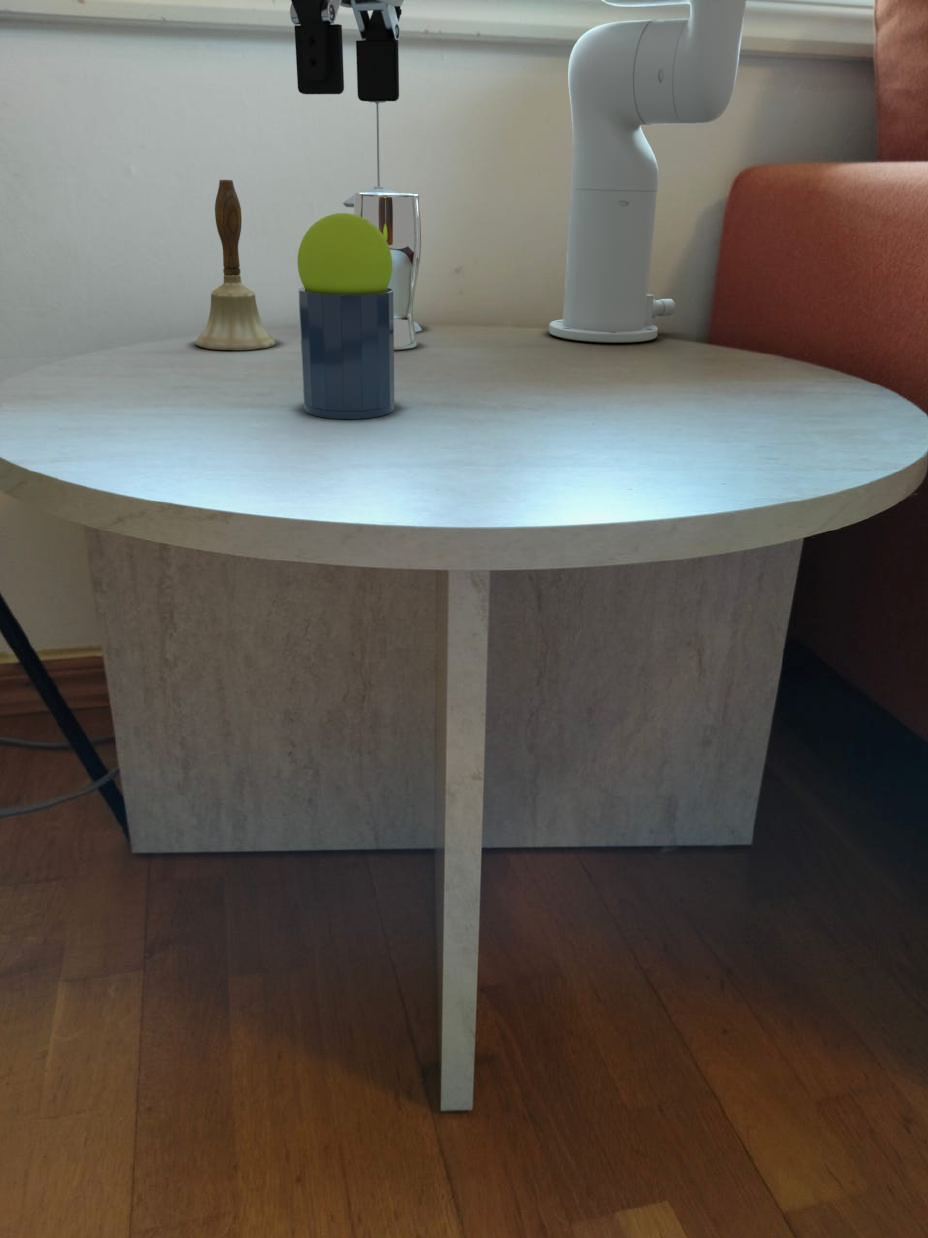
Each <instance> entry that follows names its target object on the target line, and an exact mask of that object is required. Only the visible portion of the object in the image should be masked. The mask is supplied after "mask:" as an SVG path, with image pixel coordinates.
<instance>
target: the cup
mask: <svg viewBox="0 0 928 1238" xmlns="http://www.w3.org/2000/svg"><path fill="white" fill-rule="evenodd" d="M297 292H298V307H299V308H298V310H299V331H300V335H299V336H300V351H301V353H300V355H301V369H302V370H301V373H302V374H301V375H302V376H301V377H302V395H303V397H302V399H303V410H304V411H305V412H306V413H307V414H308V415H311V416H315V417H319V418H325V419H334V420H335V419H336V420H361V419H372V418H378V417H383V416H386V415H389V414H391V413H392V412H393V411H394V410H395V409H394V408H395V404H394V403H395V350H394V306H393V290H392V289H390V288H387V289H386V291H385V292H380V293H371V294H326V293H316V292H310V291H306V289H305V288H304V286H303V287H299V288H298V291H297Z"/></svg>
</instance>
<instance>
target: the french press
mask: <svg viewBox="0 0 928 1238" xmlns="http://www.w3.org/2000/svg"><path fill="white" fill-rule="evenodd" d="M368 102H369V103H375V105H376V155H377V156H376V163H377V164H376V165H377V166H376V167H377V169H376V170H377V185H376V186H375V185H374V186H373V188H368V189H364V190H360V191H357V193H398V191H394V190H391V189H387V188H384V187H383V186H382V185H381V184H380V183H381V182H380V122H379V118H380V117H379V116H380V115H379V104H381V103H386V102H387V101H368ZM342 204H343V206H344V207H345V208H352V209H354V194H353V195H351V196H350V197H349V198H347V199H346V200H344V201H343V202H342ZM414 328H415V333H418V332H420V331H421V332H422V327H421V326H420V324H419V323H418V322H417V321H414Z"/></svg>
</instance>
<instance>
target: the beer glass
mask: <svg viewBox="0 0 928 1238" xmlns="http://www.w3.org/2000/svg"><path fill="white" fill-rule="evenodd" d="M353 195H354V208H353V214H354V215H358V216H360V217H363V218H364V219H366V220H368V221H370V222H371V223H372V224H374V225H375V226H376V227H377V228H378V229H379V230H380V232H381V233H382V234H383V236H384V237H385V239H386V241H387V243H388V245H389V248H390V251H391V256H392V274H391V279H390V282H389V285H388V287H387V288H390V289H392V290H393V306H394V351H401V350H403V351H404V350H410V349H414V348H416V347H417V345H418V340H417V335H416V332H415V328H414V322H415V321H414V302H415V294H416V286H417V283H418V282H417V281H418V277H419V276H418V275H419V268H420V262H421V261H420V260H421V253H422V226H421V225H422V222H421V210H420V209H421V208H420V194H419V193H404V192H397V193H358V192H354V193H353Z"/></svg>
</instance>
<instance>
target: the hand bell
mask: <svg viewBox="0 0 928 1238" xmlns="http://www.w3.org/2000/svg"><path fill="white" fill-rule="evenodd" d="M214 218H215V226H216V229H217V233H218V236H219V239H220V241H221V242H220V243H221V246H222V261H223V263H222V264H223V269H222V270H223V271H222V272H223V282H222V284H221V285H219V286H218V287H217V288H215V289H213V290H212V291H211V293H210V308H209V315H208V320H207V323H206V325H205V327H204V329H203V331H201V333H200V335H199V336H198V337H197V338H196V340H195V345H196V346H198V347H200V348H204V349H208V350H209V349H210V350H216V351H218V350H220V351H252V350H261V349H268V348H272V347H274V346H275V345H276V343H277V342H276V340H275V338H274V337H273V336H272V335H271V334H270V333H269V332H268V330H267V329H266V327H265V325H264V323H263V321H262V319H261V317H260V314H259V313H260V312H259V309H258V305H257V300H256V294H255V292H254V291H253V290H252V289H250V288H248V287H246V286H245V285H244V284H243V282H242V280H241V279H242V278H241V268H240V256H239V255H240V254H239V243H240V238H241V232H242V222H243V221H242V220H243V219H242V207H241V203H240V200H239V197H238V194H237V191H236V188H235V185H234V182H233V179H219V183H218V189H217V193H216V198H215V203H214Z"/></svg>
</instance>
